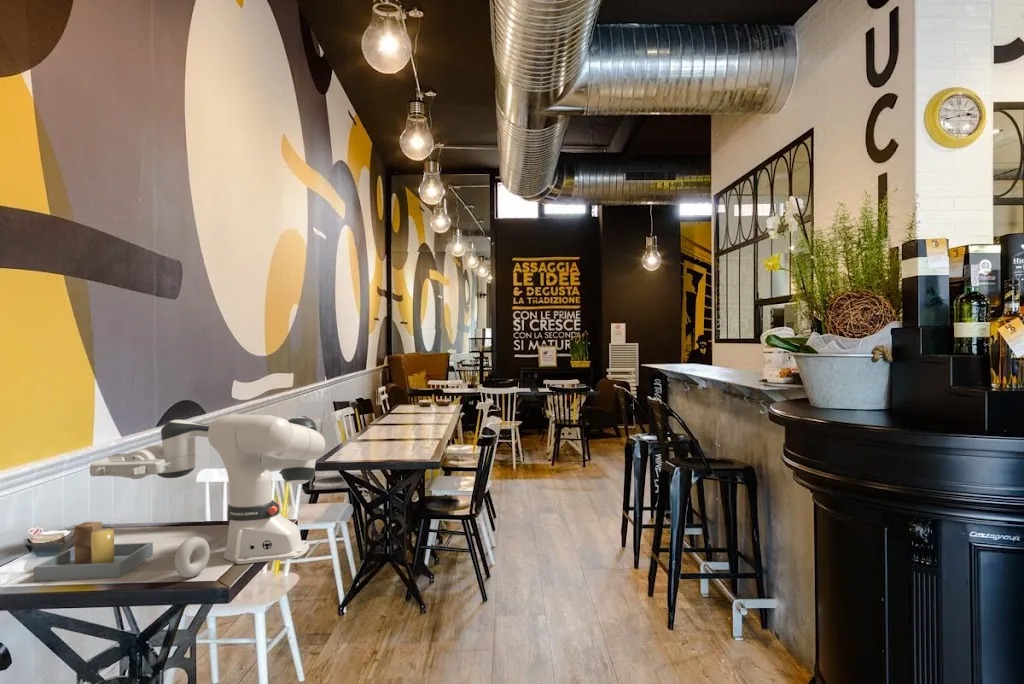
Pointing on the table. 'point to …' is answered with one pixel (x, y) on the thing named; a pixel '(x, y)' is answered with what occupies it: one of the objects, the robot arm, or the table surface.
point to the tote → (67, 569)
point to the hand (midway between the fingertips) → (114, 472)
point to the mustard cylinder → (102, 546)
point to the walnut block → (84, 541)
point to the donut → (185, 552)
